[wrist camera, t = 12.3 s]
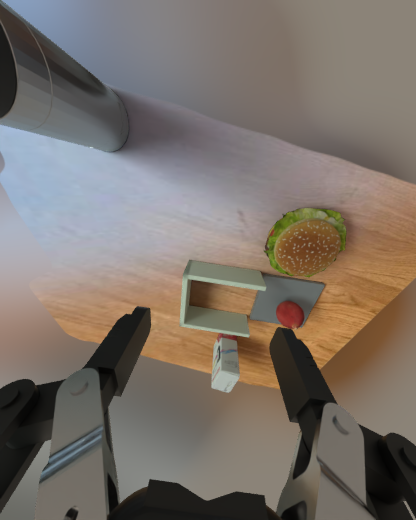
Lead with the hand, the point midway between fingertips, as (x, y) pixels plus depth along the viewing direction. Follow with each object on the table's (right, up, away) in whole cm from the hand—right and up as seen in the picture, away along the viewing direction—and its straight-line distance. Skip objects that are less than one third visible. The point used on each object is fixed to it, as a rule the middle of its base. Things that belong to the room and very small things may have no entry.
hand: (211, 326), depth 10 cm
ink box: (+5, -20, +40) cm, 45 cm away
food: (+18, +9, +24) cm, 32 cm away
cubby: (+3, -4, +32) cm, 32 cm away
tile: (+19, -6, +31) cm, 37 cm away
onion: (+19, -7, +30) cm, 36 cm away
